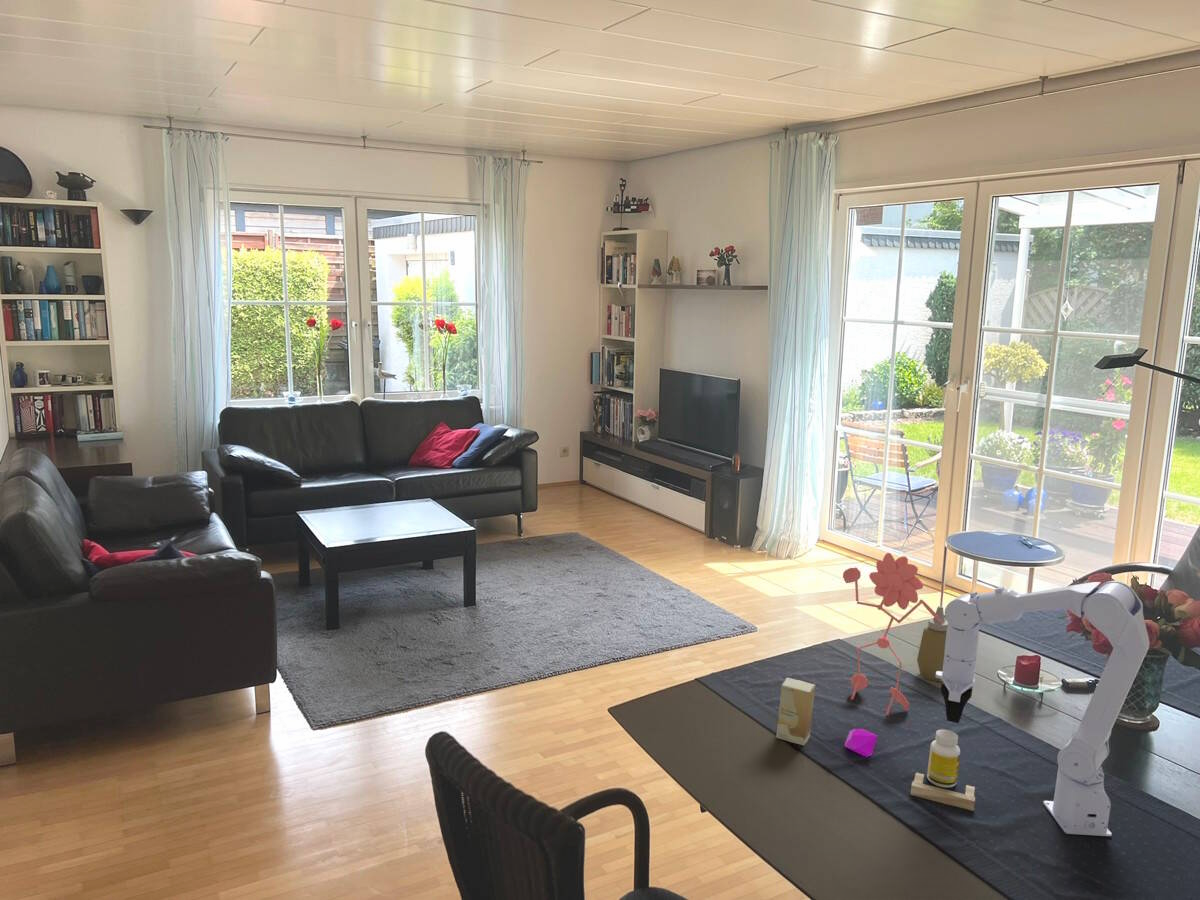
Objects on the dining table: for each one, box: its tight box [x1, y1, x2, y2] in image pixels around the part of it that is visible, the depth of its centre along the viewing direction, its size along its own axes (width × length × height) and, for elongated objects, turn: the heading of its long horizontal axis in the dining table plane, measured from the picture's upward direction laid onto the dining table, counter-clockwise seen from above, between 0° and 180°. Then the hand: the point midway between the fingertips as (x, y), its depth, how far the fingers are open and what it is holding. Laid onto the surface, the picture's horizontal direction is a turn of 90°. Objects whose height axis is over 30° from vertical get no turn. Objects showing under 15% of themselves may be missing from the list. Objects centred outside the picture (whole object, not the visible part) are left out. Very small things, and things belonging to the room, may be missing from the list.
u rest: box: [910, 772, 976, 812], centre depth 165 cm, size 5×11×2 cm, turn 64°
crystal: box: [844, 728, 878, 758], centre depth 180 cm, size 5×5×5 cm
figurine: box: [842, 552, 943, 727], centre depth 200 cm, size 15×26×35 cm, turn 40°
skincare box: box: [776, 677, 816, 746], centre depth 184 cm, size 6×4×12 cm
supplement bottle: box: [926, 729, 961, 789], centre depth 169 cm, size 5×5×10 cm
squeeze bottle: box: [916, 605, 948, 682], centre depth 214 cm, size 8×8×18 cm
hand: (953, 720), depth 173 cm, fingers closed
